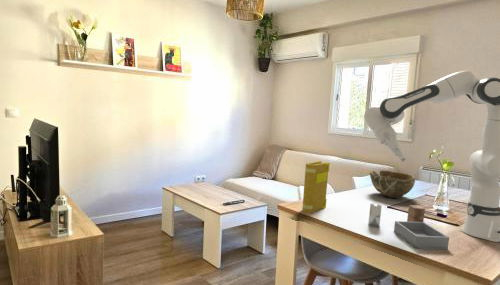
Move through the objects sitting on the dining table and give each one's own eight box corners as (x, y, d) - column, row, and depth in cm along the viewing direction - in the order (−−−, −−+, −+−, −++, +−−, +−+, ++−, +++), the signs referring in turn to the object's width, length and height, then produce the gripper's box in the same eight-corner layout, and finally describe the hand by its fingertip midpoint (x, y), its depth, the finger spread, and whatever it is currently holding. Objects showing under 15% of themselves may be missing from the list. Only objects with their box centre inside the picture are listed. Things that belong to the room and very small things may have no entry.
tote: (422, 232, 150) (423, 222, 150) (447, 249, 133) (449, 237, 132) (393, 231, 149) (395, 221, 149) (415, 248, 132) (416, 236, 131)
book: (314, 204, 185) (318, 160, 183) (325, 207, 181) (329, 162, 178) (299, 210, 172) (303, 163, 170) (310, 213, 168) (314, 165, 165)
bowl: (358, 192, 221) (360, 170, 219) (387, 189, 232) (389, 169, 231) (391, 203, 196) (394, 179, 195) (422, 200, 208) (425, 177, 206)
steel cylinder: (376, 223, 159) (378, 203, 158) (381, 227, 154) (383, 206, 153) (366, 223, 159) (368, 203, 158) (370, 227, 154) (373, 206, 153)
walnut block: (416, 225, 160) (418, 205, 159) (422, 229, 155) (424, 208, 154) (406, 225, 160) (408, 205, 159) (412, 228, 155) (414, 208, 154)
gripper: (389, 127, 151) (407, 152, 146) (394, 136, 169) (411, 159, 163) (377, 135, 154) (394, 160, 148) (383, 143, 171) (399, 165, 165)
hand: (403, 159), depth 156 cm, fingers open, 8 cm apart
